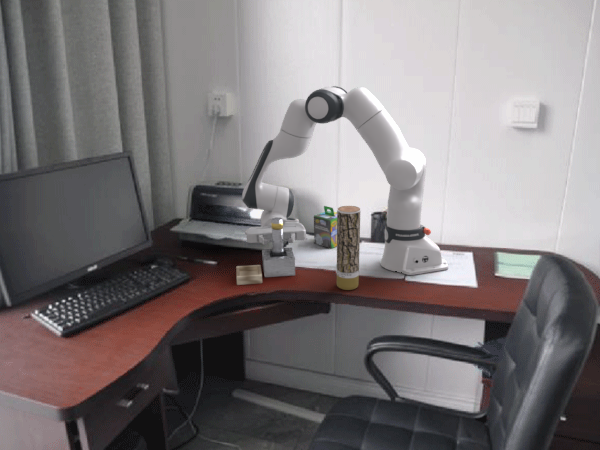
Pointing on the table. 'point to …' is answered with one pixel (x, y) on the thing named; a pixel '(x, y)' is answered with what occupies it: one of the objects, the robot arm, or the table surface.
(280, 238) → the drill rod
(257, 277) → the birch rack
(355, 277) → the paper tube
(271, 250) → the socket block
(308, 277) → the table surface
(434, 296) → the table surface
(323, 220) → the chalk box
